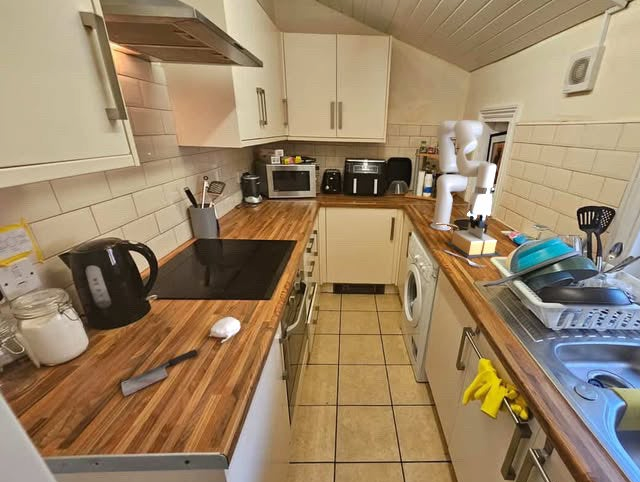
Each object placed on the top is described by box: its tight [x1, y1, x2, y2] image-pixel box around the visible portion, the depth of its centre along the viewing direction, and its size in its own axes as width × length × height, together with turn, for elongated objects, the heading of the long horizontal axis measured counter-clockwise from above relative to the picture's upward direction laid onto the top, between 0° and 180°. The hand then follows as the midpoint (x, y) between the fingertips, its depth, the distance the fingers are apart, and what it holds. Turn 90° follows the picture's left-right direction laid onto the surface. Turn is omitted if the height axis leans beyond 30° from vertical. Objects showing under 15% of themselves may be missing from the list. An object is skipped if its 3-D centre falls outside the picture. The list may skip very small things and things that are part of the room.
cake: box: [445, 229, 501, 259], centre depth 151 cm, size 20×18×7 cm
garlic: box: [208, 316, 241, 344], centre depth 86 cm, size 8×7×4 cm
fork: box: [443, 249, 487, 268], centre depth 139 cm, size 3×24×2 cm, turn 30°
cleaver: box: [120, 348, 198, 397], centre depth 72 cm, size 16×1×5 cm
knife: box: [467, 216, 486, 240], centre depth 148 cm, size 12×3×10 cm, turn 14°
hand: (476, 227), depth 148 cm, fingers closed on knife, 3 cm apart
